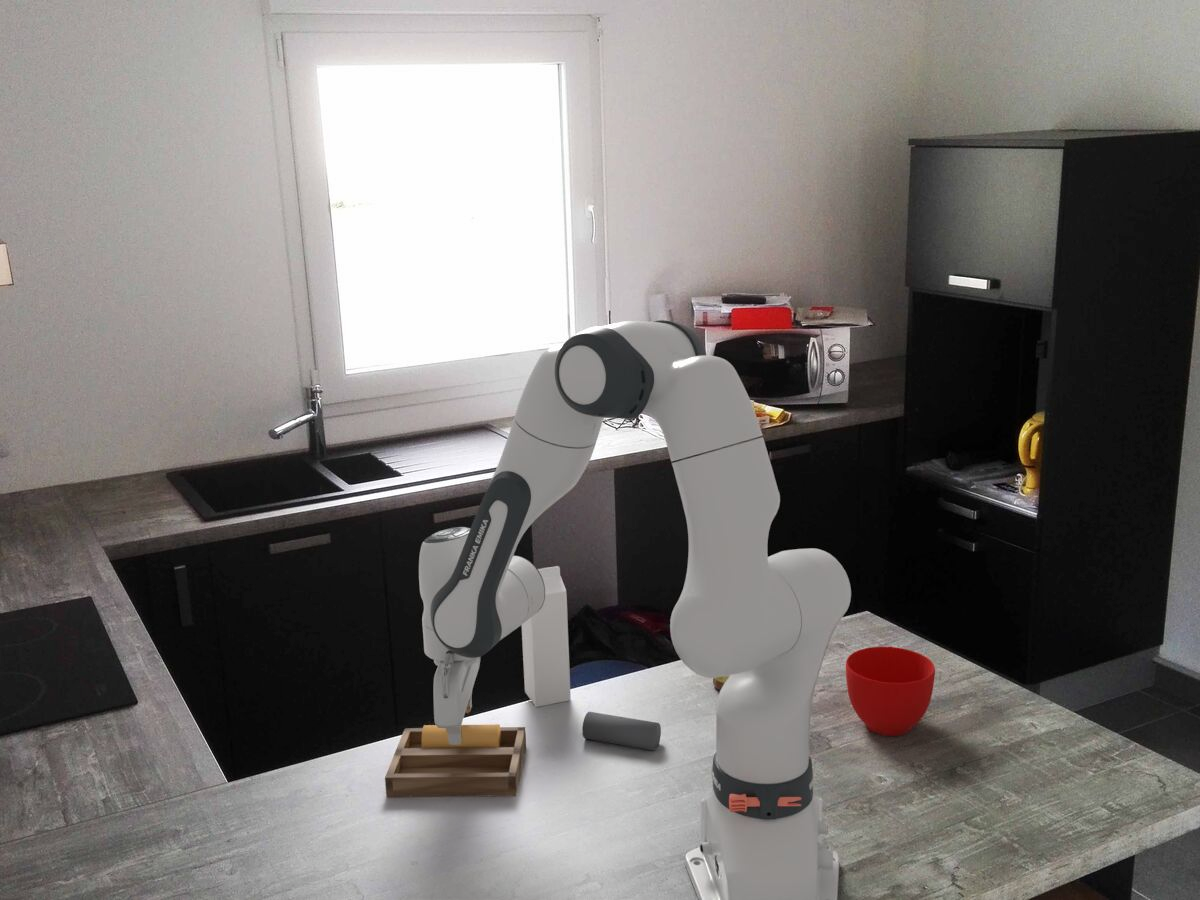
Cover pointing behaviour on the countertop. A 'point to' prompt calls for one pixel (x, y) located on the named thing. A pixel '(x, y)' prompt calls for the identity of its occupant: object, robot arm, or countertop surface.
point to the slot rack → (456, 767)
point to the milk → (548, 645)
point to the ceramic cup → (889, 687)
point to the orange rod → (470, 737)
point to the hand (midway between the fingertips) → (460, 726)
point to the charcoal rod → (621, 730)
